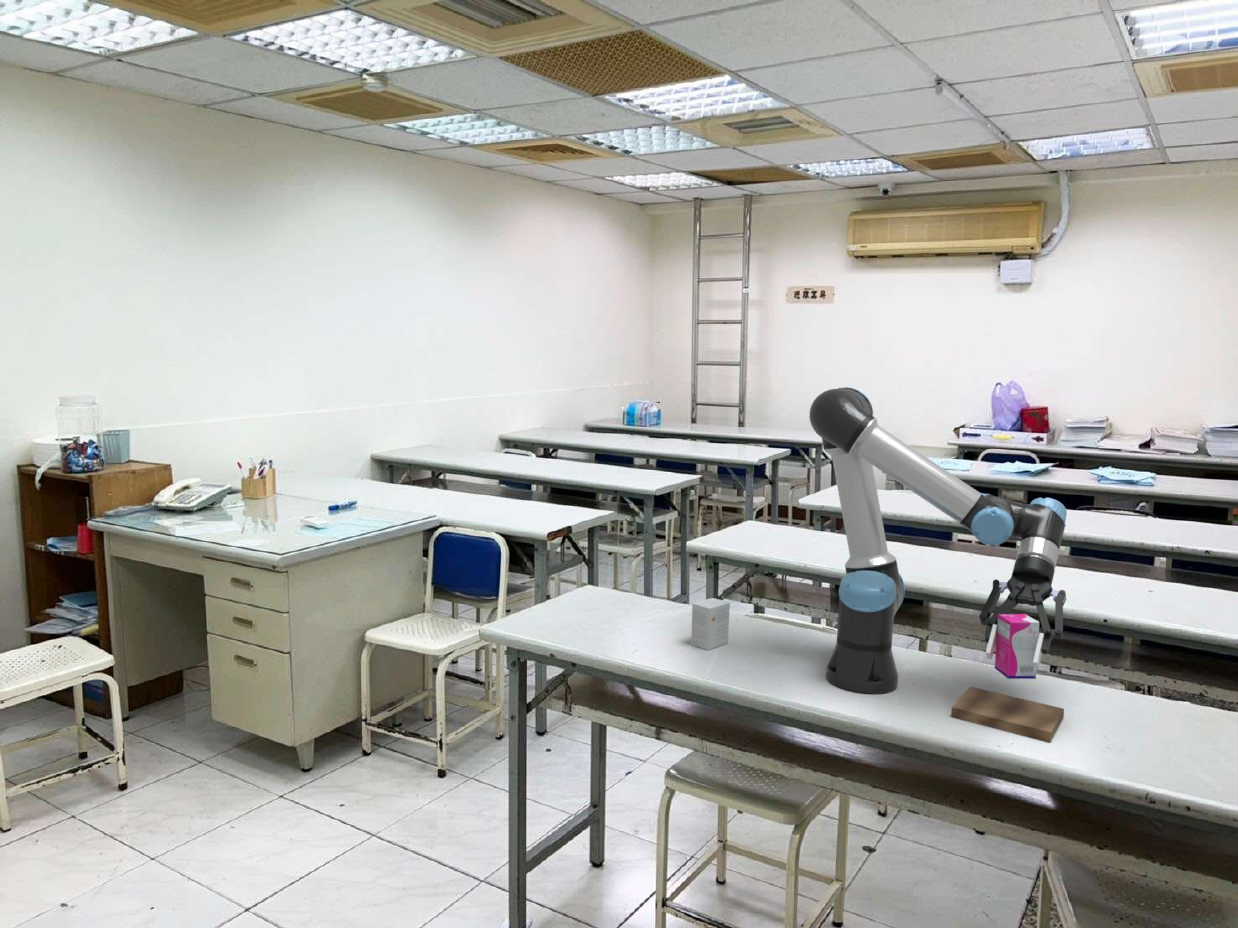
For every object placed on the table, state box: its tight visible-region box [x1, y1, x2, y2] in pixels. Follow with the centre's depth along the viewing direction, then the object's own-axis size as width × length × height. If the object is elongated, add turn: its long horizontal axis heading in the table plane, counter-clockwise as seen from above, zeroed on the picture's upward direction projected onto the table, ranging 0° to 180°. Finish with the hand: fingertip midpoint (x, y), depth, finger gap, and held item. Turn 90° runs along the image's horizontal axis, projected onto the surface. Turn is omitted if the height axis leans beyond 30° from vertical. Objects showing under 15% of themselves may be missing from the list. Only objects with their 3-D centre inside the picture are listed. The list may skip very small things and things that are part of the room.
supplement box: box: [994, 613, 1040, 680], centre depth 169 cm, size 6×6×12 cm
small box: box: [690, 597, 731, 651], centre depth 210 cm, size 8×6×10 cm
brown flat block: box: [950, 686, 1065, 743], centre depth 171 cm, size 18×14×2 cm
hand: (1011, 660), depth 167 cm, fingers closed on supplement box, 8 cm apart
